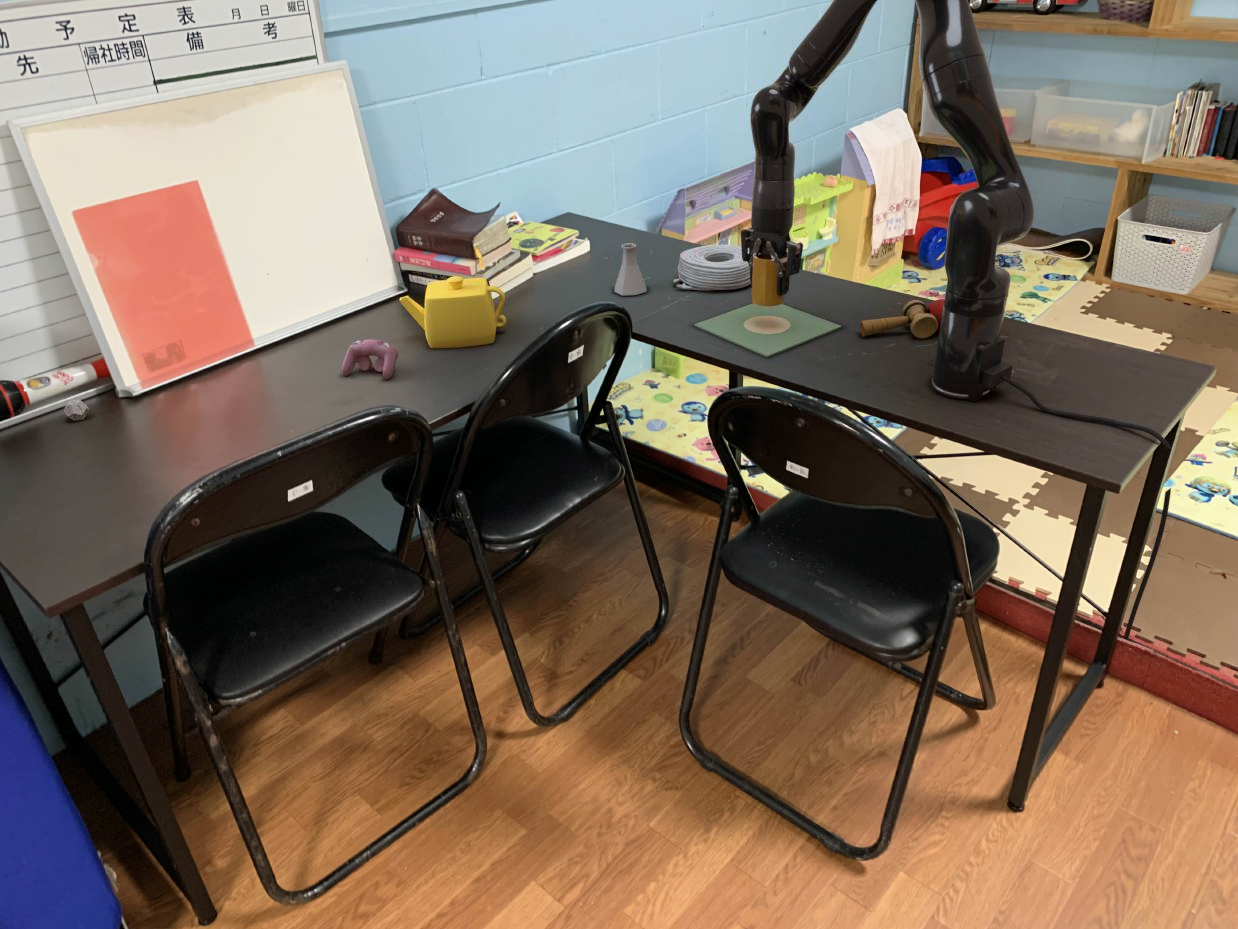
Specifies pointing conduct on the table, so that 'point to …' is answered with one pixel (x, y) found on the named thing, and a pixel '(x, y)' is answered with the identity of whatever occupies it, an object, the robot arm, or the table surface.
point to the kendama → (909, 319)
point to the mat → (767, 328)
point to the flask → (629, 273)
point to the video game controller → (361, 354)
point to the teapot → (458, 312)
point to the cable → (713, 268)
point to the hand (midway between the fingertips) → (768, 289)
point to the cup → (765, 282)
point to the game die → (76, 410)
